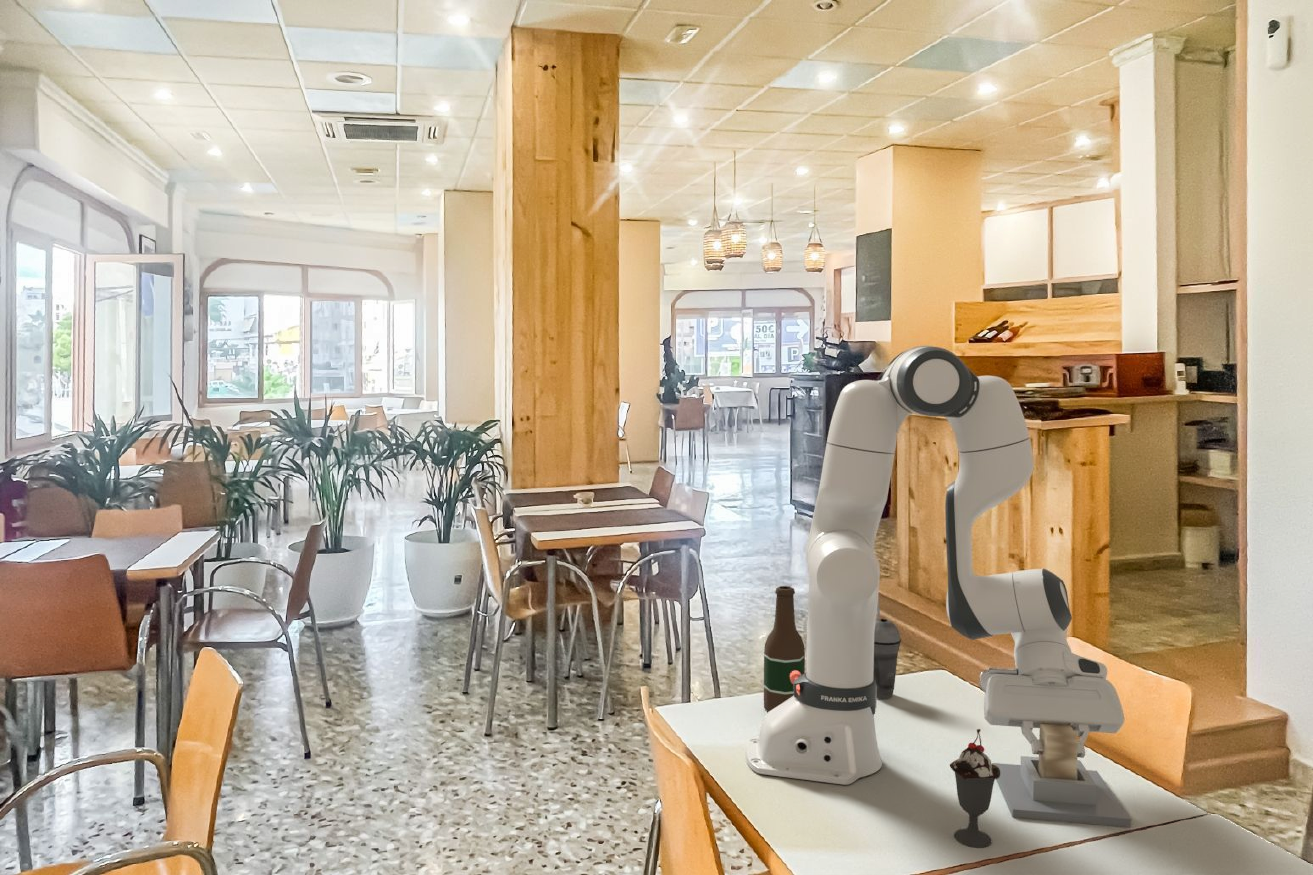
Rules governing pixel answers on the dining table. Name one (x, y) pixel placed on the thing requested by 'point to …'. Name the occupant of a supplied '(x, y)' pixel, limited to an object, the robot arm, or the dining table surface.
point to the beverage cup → (885, 656)
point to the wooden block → (1058, 752)
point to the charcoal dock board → (1059, 795)
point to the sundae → (974, 791)
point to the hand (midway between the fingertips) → (1058, 754)
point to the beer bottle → (782, 651)
